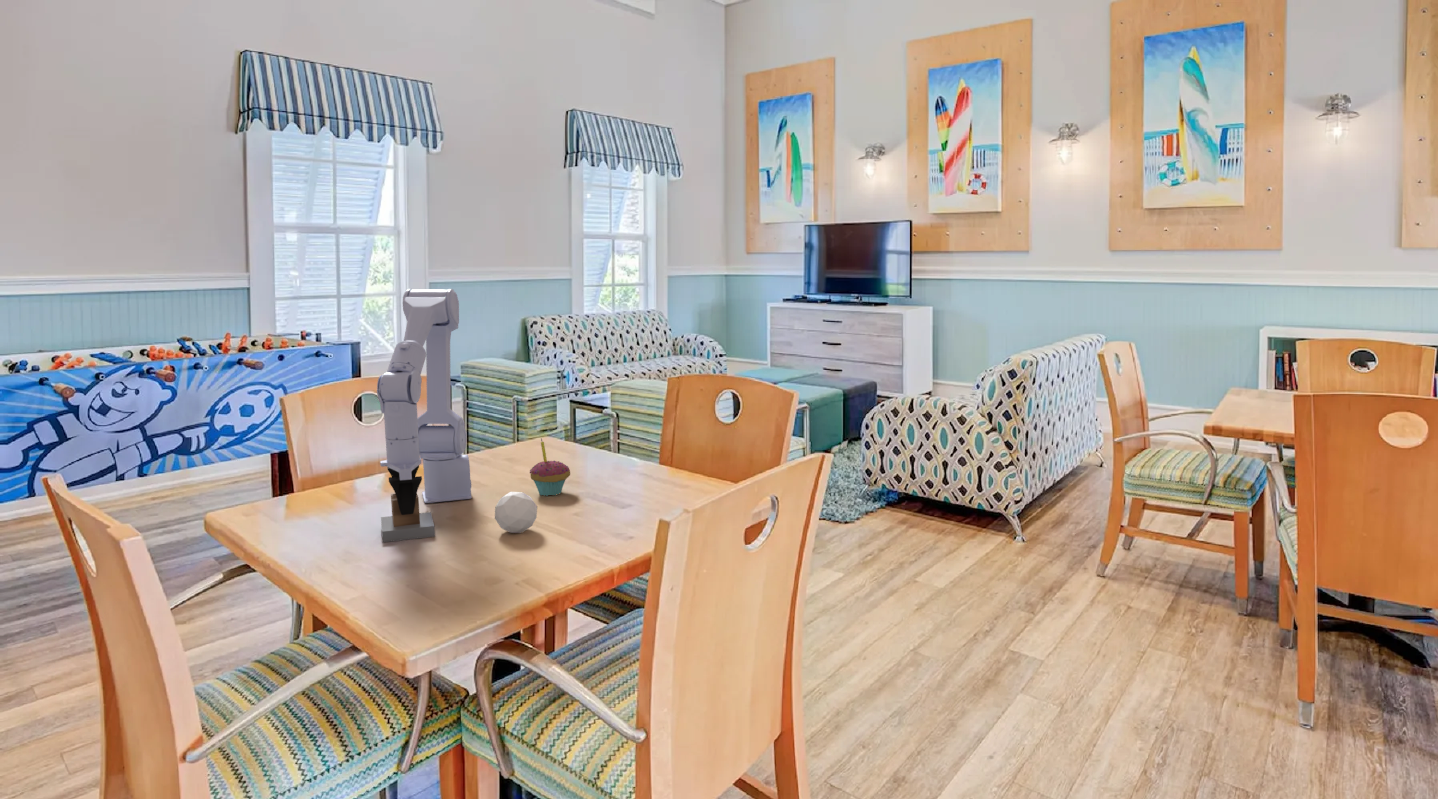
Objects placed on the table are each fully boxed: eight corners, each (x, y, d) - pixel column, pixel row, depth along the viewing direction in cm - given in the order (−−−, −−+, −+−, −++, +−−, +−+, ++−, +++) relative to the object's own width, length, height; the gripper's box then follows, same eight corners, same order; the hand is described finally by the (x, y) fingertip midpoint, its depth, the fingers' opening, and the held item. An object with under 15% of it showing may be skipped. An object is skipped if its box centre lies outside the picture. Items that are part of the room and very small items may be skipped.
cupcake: (522, 495, 184) (520, 441, 182) (545, 485, 192) (543, 433, 190) (557, 500, 181) (555, 445, 179) (578, 490, 189) (577, 436, 187)
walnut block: (417, 516, 163) (416, 491, 162) (419, 523, 159) (418, 497, 158) (392, 519, 161) (390, 494, 160) (394, 526, 157) (392, 500, 156)
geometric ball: (516, 541, 164) (524, 502, 167) (540, 535, 159) (549, 495, 162) (482, 529, 159) (491, 489, 163) (506, 523, 154) (516, 481, 158)
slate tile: (431, 521, 166) (430, 512, 166) (434, 536, 158) (434, 525, 158) (381, 527, 163) (380, 517, 163) (382, 542, 155) (381, 531, 155)
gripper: (378, 430, 163) (382, 499, 165) (379, 447, 149) (384, 521, 152) (417, 427, 165) (421, 495, 168) (422, 443, 152) (426, 517, 154)
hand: (406, 508), depth 160 cm, fingers open, 7 cm apart
